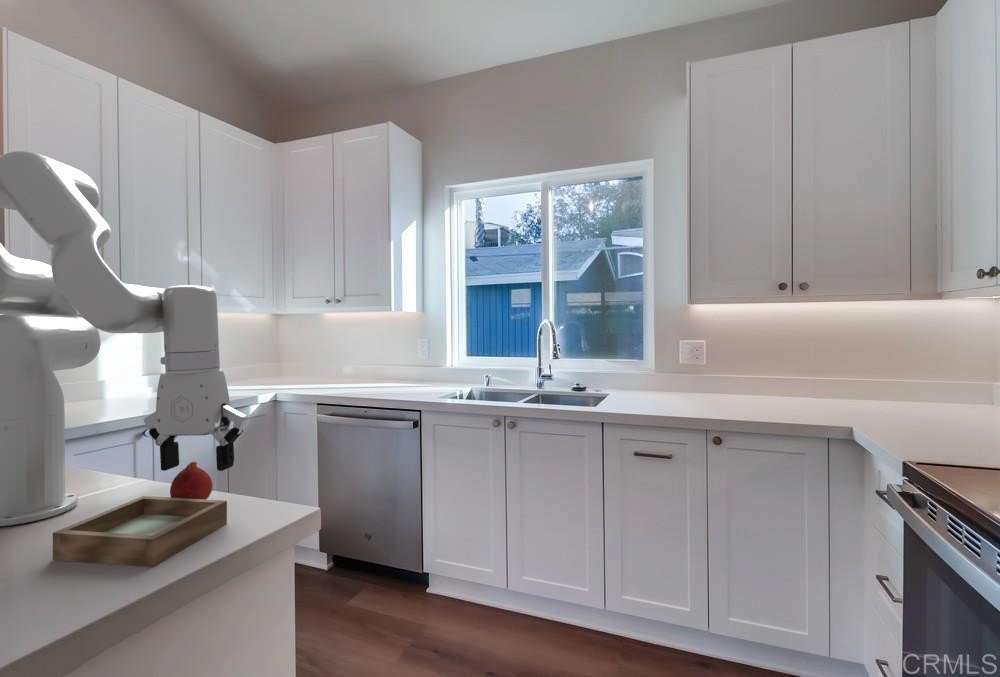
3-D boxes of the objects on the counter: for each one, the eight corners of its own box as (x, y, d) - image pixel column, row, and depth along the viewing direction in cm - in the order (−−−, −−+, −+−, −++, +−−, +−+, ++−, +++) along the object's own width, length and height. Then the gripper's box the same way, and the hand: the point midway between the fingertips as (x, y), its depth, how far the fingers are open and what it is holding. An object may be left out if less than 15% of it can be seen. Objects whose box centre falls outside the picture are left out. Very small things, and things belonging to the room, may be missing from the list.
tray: (52, 559, 64) (52, 532, 64) (143, 518, 78) (142, 496, 78) (152, 567, 62) (152, 539, 62) (226, 523, 76) (226, 500, 76)
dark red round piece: (192, 519, 78) (192, 468, 78) (161, 515, 79) (160, 465, 79) (220, 506, 84) (220, 458, 83) (190, 503, 85) (190, 456, 84)
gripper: (124, 366, 78) (129, 475, 78) (227, 363, 76) (232, 475, 76) (162, 362, 85) (166, 462, 86) (257, 360, 83) (261, 462, 84)
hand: (197, 468), depth 81 cm, fingers open, 9 cm apart
